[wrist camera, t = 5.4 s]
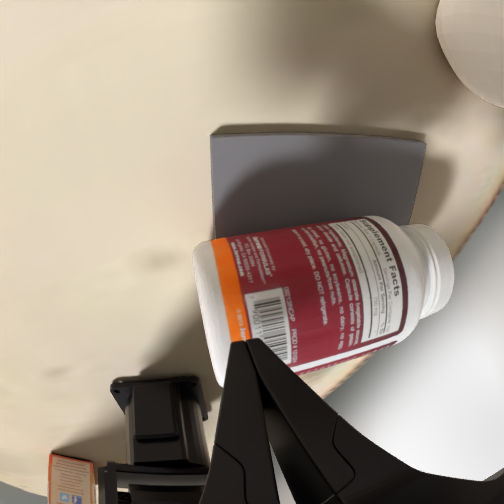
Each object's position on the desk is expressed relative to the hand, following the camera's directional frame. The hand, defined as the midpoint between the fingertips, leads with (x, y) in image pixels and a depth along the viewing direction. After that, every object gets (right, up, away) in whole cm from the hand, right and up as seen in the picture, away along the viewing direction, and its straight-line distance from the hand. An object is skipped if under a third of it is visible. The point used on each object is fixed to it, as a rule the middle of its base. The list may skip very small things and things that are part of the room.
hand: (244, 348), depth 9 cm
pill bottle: (-2, 0, +3) cm, 4 cm away
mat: (+4, +4, +7) cm, 9 cm away
